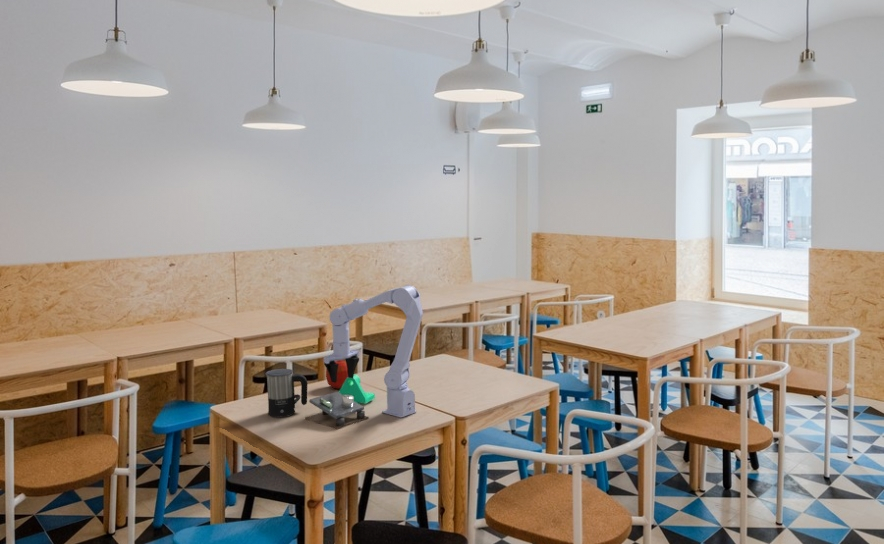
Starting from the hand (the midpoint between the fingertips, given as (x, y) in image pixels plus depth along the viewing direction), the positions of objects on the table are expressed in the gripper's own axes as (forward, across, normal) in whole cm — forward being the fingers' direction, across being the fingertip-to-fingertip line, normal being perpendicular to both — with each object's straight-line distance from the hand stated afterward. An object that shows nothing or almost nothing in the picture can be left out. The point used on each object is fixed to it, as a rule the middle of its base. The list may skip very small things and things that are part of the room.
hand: (342, 379), depth 234 cm
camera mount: (+11, -8, -3) cm, 14 cm away
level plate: (+6, +9, +8) cm, 13 cm away
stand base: (+10, +9, +8) cm, 16 cm away
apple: (+10, -16, -22) cm, 29 cm away
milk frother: (+10, +14, -14) cm, 23 cm away
